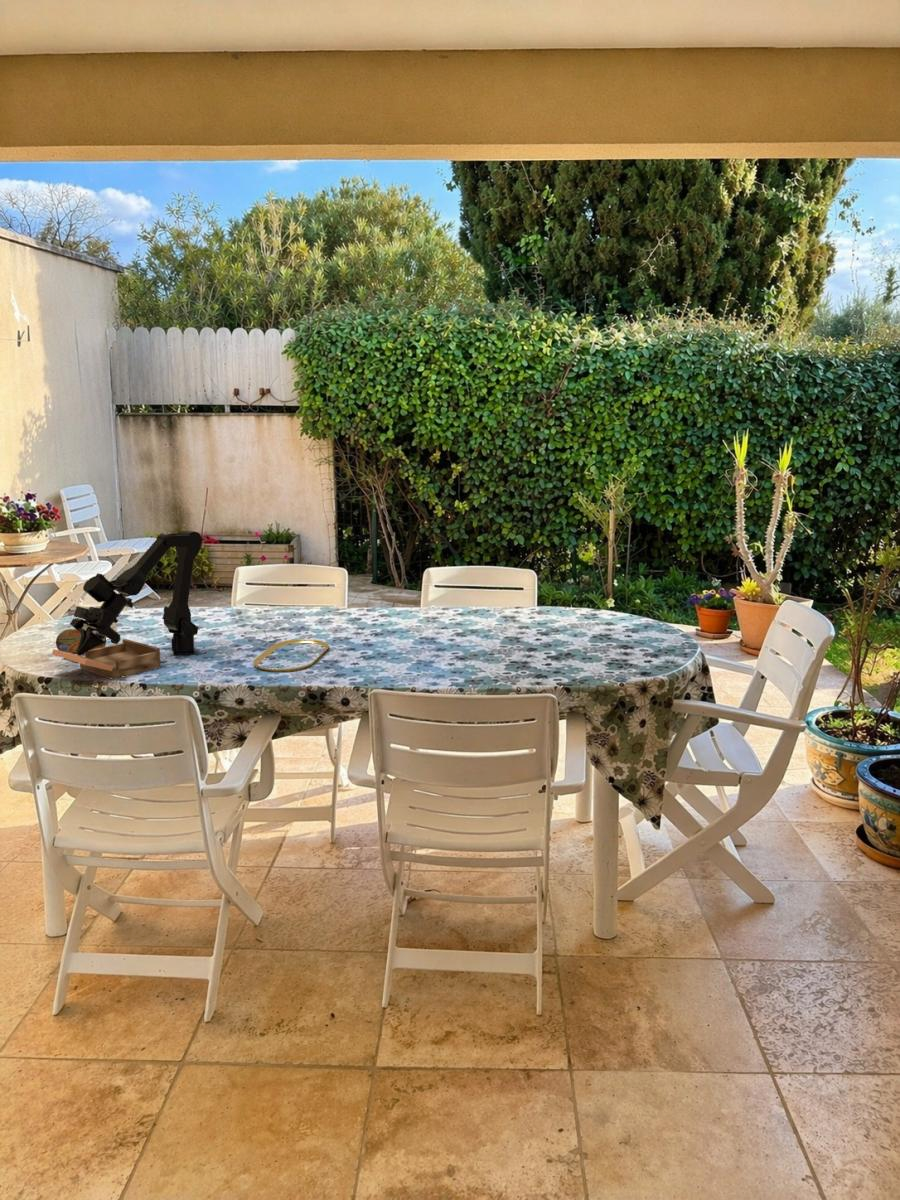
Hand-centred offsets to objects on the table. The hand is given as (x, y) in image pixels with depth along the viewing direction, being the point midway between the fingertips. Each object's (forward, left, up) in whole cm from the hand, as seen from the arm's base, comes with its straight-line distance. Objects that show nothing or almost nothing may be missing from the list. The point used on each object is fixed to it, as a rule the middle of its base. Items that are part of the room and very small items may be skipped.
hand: (78, 654), depth 267 cm
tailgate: (-4, -3, -5) cm, 7 cm away
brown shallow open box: (-10, -9, -7) cm, 15 cm away
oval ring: (-62, -11, -8) cm, 63 cm away
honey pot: (+3, -50, -7) cm, 51 cm away
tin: (+4, -28, -7) cm, 30 cm away
